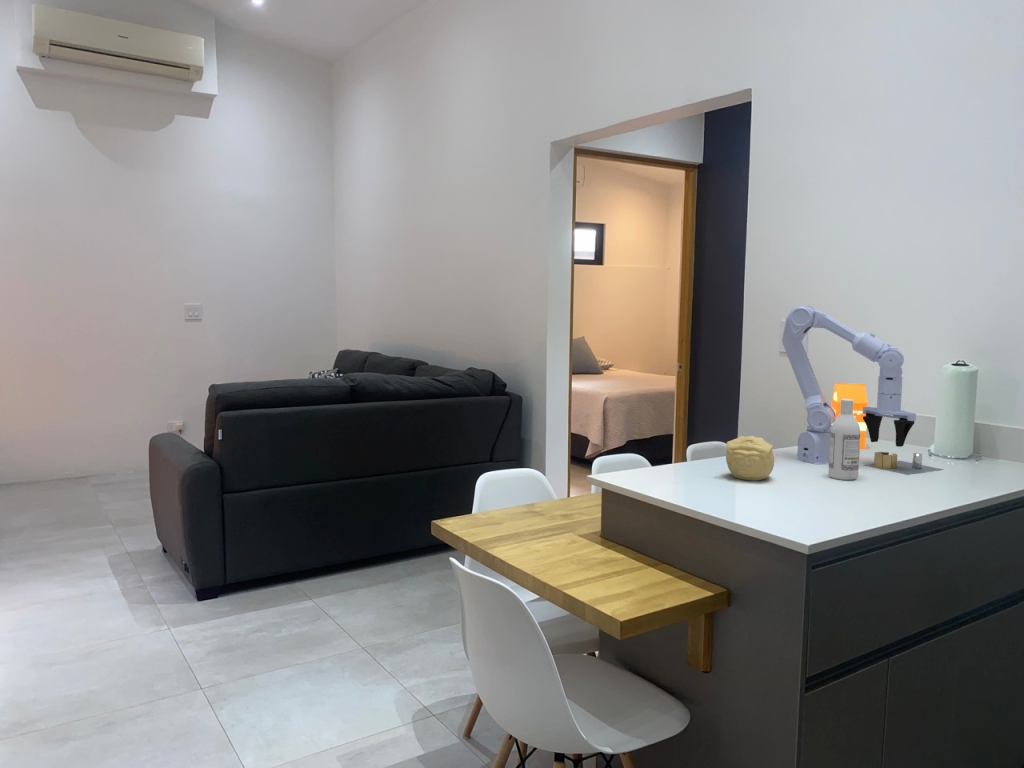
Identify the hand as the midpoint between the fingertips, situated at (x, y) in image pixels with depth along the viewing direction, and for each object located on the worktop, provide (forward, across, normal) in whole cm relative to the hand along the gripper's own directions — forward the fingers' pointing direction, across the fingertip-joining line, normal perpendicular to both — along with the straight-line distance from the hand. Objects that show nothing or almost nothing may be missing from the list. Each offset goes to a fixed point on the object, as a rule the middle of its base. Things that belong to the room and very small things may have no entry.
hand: (886, 443), depth 202 cm
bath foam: (+7, -3, +20) cm, 21 cm away
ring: (+6, 0, 0) cm, 6 cm away
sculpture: (+7, +7, +42) cm, 43 cm away
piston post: (+7, -5, -6) cm, 10 cm away
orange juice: (+7, +26, -17) cm, 32 cm away
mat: (+7, -2, -4) cm, 8 cm away
